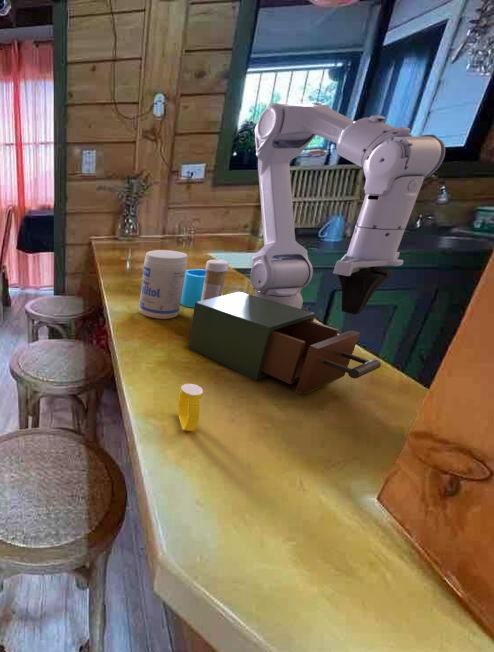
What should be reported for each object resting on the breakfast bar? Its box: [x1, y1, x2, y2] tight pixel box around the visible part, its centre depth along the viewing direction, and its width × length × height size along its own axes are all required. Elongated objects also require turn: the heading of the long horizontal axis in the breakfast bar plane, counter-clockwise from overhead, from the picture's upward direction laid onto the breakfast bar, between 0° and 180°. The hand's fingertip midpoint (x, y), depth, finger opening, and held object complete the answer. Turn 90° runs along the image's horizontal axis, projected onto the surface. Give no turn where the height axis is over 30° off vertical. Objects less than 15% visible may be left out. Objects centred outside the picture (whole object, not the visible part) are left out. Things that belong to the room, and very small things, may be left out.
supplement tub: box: [138, 249, 188, 320], centre depth 90 cm, size 10×10×15 cm
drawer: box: [261, 320, 382, 395], centre depth 61 cm, size 18×11×8 cm, turn 28°
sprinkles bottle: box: [201, 259, 230, 301], centre depth 87 cm, size 5×5×14 cm
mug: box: [180, 268, 206, 309], centre depth 99 cm, size 12×8×8 cm
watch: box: [177, 383, 204, 432], centre depth 51 cm, size 6×3×6 cm, turn 171°
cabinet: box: [187, 291, 317, 381], centre depth 69 cm, size 15×13×10 cm
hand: (350, 312), depth 62 cm, fingers closed
